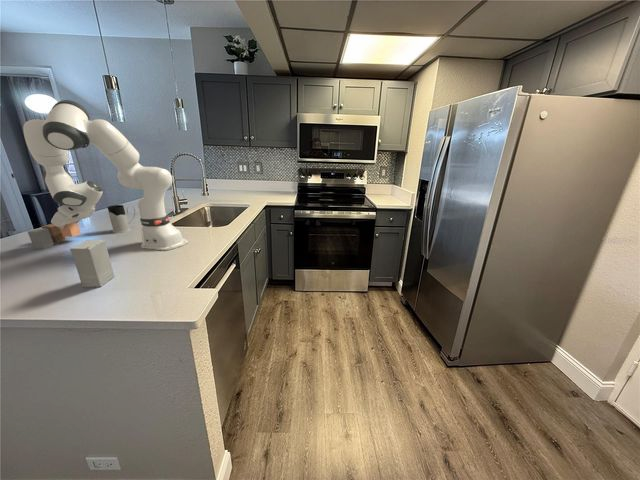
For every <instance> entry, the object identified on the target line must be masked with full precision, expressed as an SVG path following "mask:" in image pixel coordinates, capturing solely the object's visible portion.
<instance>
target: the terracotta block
mask: <svg viewBox="0 0 640 480" xmlns="http://www.w3.org/2000/svg"><path fill="white" fill-rule="evenodd" d="M78 223H79V222H78ZM78 223H77V221H76V222H73V223H69V224H66V227H65V228H63V229H61V228H60V230H61V232H62V235H63V237H65V238H66V237H67V238H69V237H75V236H76V237H77V236H78V235H81V234H82V232H81V229H80V227H79V224H78Z"/></svg>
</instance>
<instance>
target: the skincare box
mask: <svg viewBox="0 0 640 480" xmlns="http://www.w3.org/2000/svg"><path fill="white" fill-rule="evenodd" d="M69 250H70V253H71V255H72V259H73V261H74V265H75V267H76V271H77V273H78V278H79V280H80V284H81V287H82V288H99V287H98V286H101V287H103V286H104V285H105V284H107V283H108V282H109V281H111V279H113V278H114V277H115V274H114V273H115V272H114V270H113V267H112V262H111V260H110V259H111V258H110V255H109V251H108V247H107V244H106V240H105V239H86V240H84V241H82V242H81V243H79V244H77V245H75V246H72V247H70V249H69ZM103 284H104V285H103ZM102 285H103V286H102ZM95 286H96V287H95Z"/></svg>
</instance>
